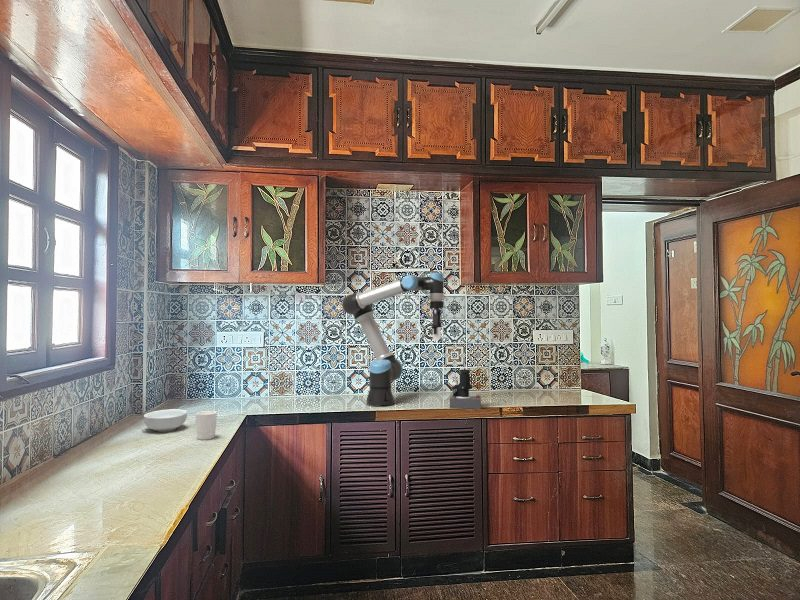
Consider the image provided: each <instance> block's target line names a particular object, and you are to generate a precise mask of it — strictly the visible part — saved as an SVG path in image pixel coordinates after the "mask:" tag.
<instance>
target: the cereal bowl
mask: <svg viewBox="0 0 800 600" xmlns="http://www.w3.org/2000/svg"><path fill="white" fill-rule="evenodd" d="M187 414H188V413H187V410H185V409H177V408H176V409H175V408H173V409H170V408H169V409H160V410H155V411H150V412H147V413H145V414H143V421H144V422H143V424H145V426H146V427H147V428H148V429H151V430H154V431H156V432H159V433H161V432H162V433H164V432H172V431H174V430H176V429H177V428H179V427H181V426H183V424H184V423H186V420H187V417H188V415H187Z"/></svg>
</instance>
